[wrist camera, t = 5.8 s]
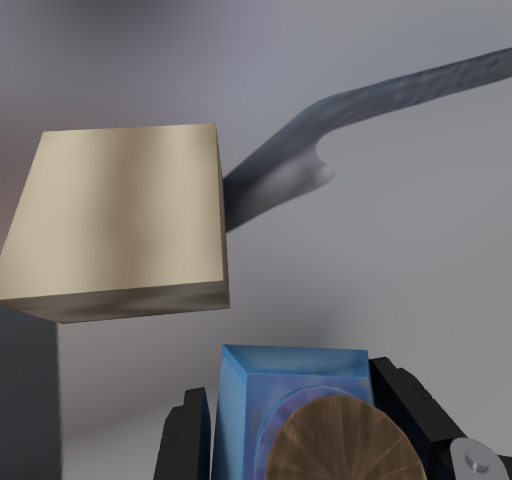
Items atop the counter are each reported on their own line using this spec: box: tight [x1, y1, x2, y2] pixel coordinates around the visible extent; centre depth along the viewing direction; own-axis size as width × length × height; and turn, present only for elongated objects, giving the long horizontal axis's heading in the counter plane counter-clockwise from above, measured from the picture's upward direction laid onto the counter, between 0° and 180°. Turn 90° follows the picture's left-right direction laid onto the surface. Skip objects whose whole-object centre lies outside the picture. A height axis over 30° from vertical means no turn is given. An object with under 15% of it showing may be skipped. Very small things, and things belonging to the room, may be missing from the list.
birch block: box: [0, 124, 230, 324], centre depth 18 cm, size 11×11×6 cm
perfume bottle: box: [211, 344, 427, 480], centre depth 10 cm, size 6×6×12 cm
